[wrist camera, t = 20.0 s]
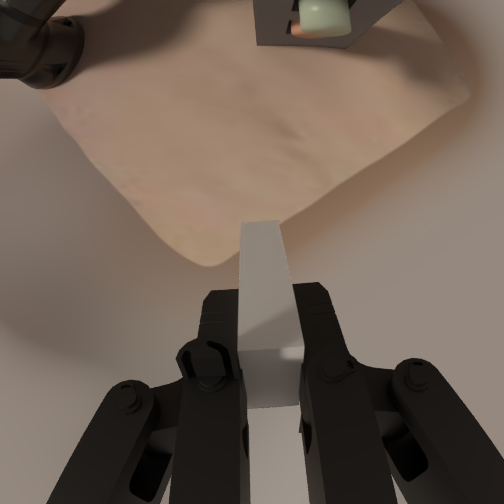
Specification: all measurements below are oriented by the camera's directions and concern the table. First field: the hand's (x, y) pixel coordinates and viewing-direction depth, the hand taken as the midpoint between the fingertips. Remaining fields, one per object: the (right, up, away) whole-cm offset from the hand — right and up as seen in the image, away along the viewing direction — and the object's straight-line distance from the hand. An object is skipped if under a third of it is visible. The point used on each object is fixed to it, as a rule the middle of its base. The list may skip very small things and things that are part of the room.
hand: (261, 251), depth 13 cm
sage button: (+7, +24, +11) cm, 28 cm away
